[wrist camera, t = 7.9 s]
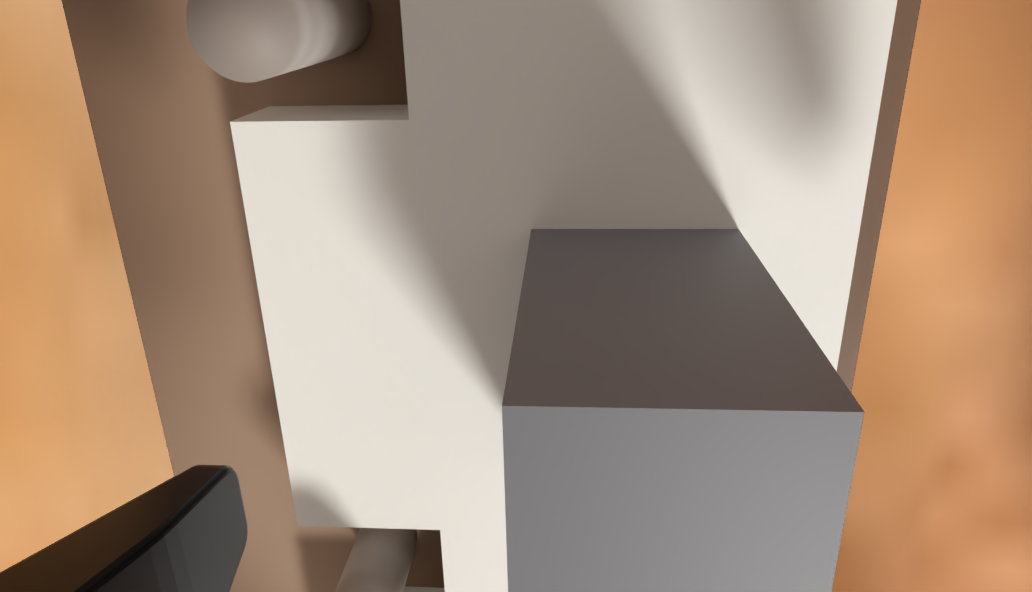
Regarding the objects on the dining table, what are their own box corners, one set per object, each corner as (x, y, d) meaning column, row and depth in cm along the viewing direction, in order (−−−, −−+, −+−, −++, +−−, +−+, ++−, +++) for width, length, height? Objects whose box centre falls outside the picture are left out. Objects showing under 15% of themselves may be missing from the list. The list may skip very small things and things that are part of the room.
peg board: (940, -464, 10) (1295, -896, 5) (765, 681, 19) (836, 938, 14) (49, -409, 11) (-380, -731, 6) (265, 658, 20) (159, 891, 15)
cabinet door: (891, -247, 10) (1408, -623, 4) (761, 657, 16) (876, 1064, 10) (221, -217, 10) (-262, -498, 4) (347, 639, 16) (218, 1012, 10)
